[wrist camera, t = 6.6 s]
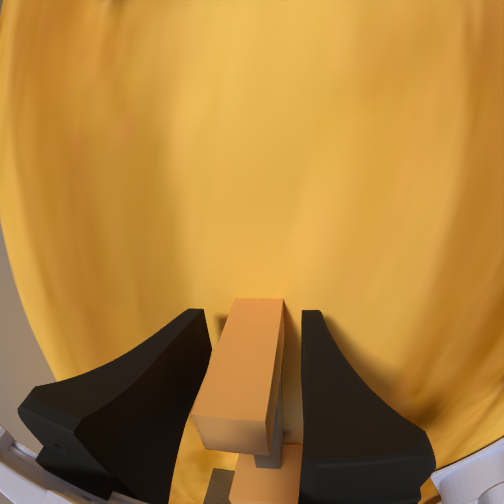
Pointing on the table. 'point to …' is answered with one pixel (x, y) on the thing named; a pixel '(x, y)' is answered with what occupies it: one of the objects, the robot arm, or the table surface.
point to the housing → (219, 487)
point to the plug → (250, 405)
